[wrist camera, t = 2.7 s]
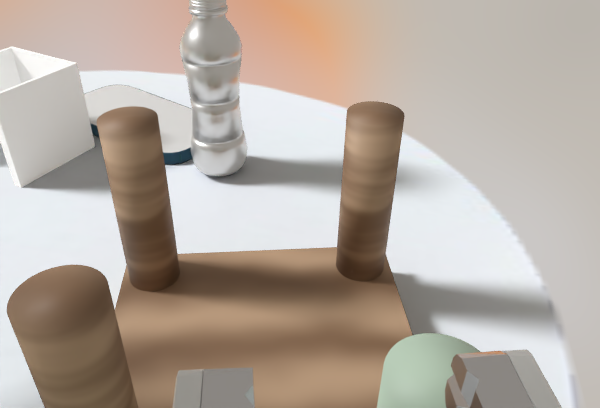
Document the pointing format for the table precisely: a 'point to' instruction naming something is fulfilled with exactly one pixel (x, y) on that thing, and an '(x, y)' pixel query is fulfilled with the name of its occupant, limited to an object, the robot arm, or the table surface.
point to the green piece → (419, 371)
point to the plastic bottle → (214, 88)
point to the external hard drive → (170, 114)
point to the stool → (221, 292)
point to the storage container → (41, 114)
